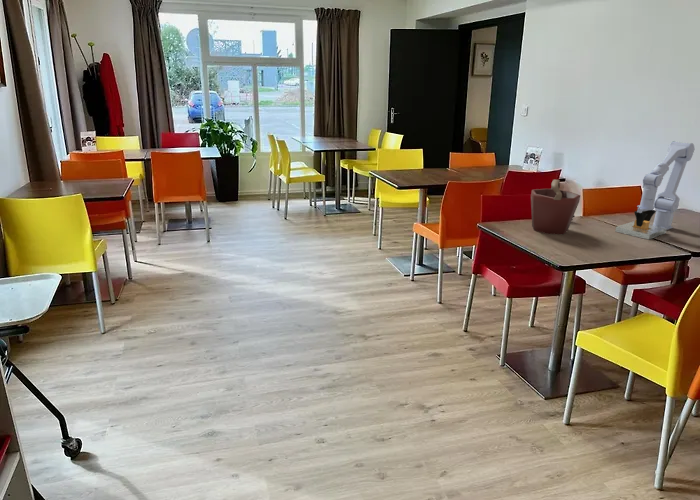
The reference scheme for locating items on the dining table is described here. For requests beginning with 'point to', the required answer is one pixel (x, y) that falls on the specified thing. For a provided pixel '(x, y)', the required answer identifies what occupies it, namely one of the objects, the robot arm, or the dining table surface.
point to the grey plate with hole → (641, 230)
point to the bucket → (553, 209)
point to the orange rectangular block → (643, 225)
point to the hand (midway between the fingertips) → (642, 224)
